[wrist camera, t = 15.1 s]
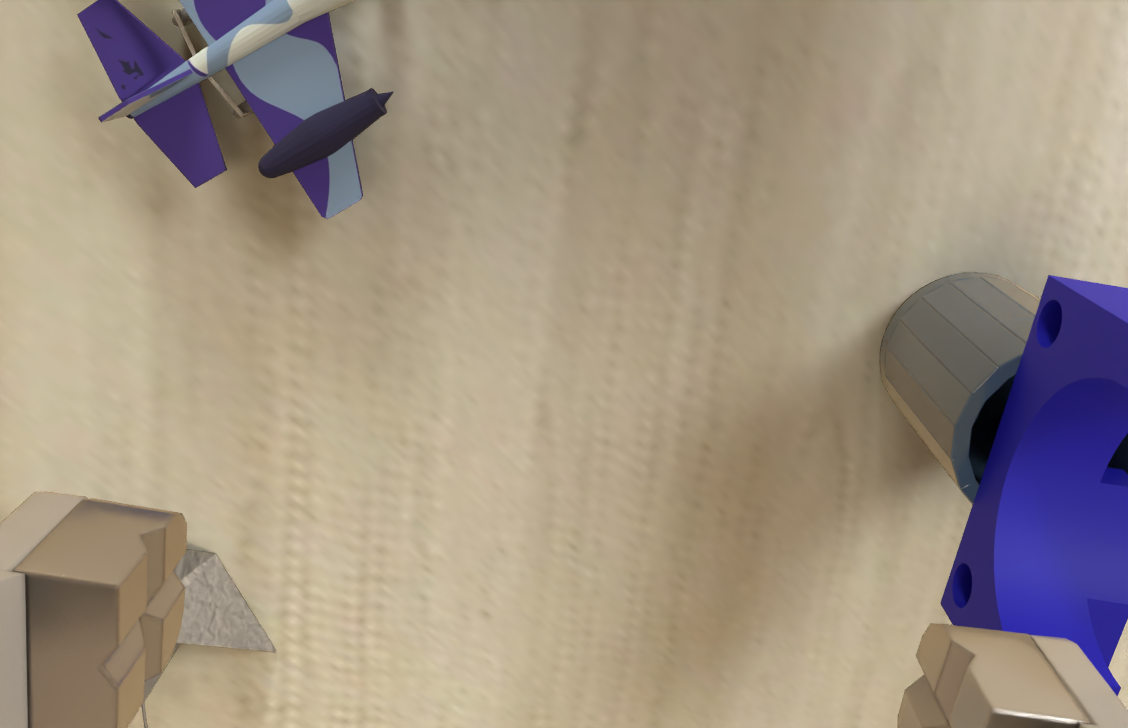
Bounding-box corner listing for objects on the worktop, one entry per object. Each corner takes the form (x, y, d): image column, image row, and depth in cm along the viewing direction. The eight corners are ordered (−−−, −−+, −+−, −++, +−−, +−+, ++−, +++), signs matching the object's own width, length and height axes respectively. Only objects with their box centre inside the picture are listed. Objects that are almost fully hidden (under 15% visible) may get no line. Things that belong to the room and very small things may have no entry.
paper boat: (280, 530, 45) (307, 738, 46) (244, 511, 51) (269, 697, 51) (-40, 597, 39) (-4, 835, 40) (-41, 567, 45) (-10, 776, 45)
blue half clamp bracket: (1064, 622, 37) (1152, 736, 31) (940, 603, 37) (1005, 714, 31) (1187, 298, 33) (1313, 361, 27) (1048, 275, 33) (1145, 334, 27)
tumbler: (902, 259, 42) (984, 328, 33) (1070, 286, 42) (1193, 360, 34) (860, 415, 44) (927, 517, 36) (1019, 439, 44) (1123, 545, 36)
